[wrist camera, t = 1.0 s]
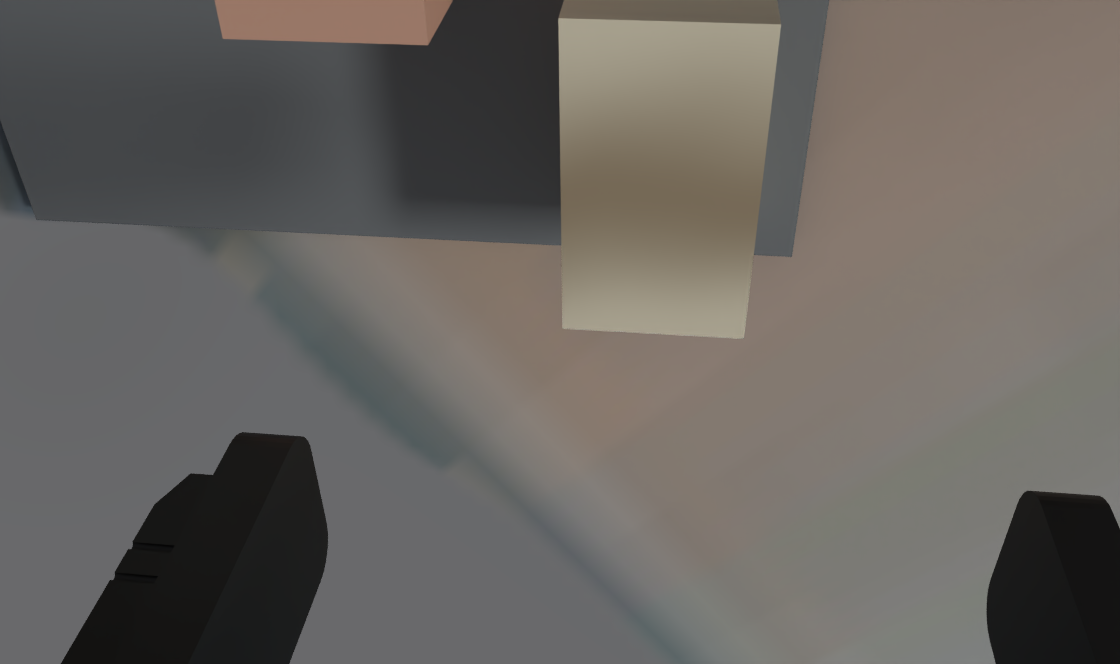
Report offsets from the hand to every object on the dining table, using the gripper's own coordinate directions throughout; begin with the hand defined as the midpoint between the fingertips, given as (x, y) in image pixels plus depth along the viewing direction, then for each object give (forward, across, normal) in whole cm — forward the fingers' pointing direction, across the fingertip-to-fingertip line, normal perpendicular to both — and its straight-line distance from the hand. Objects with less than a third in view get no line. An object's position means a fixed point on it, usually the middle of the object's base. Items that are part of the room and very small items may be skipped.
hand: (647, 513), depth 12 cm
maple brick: (+12, 0, 0) cm, 12 cm away
